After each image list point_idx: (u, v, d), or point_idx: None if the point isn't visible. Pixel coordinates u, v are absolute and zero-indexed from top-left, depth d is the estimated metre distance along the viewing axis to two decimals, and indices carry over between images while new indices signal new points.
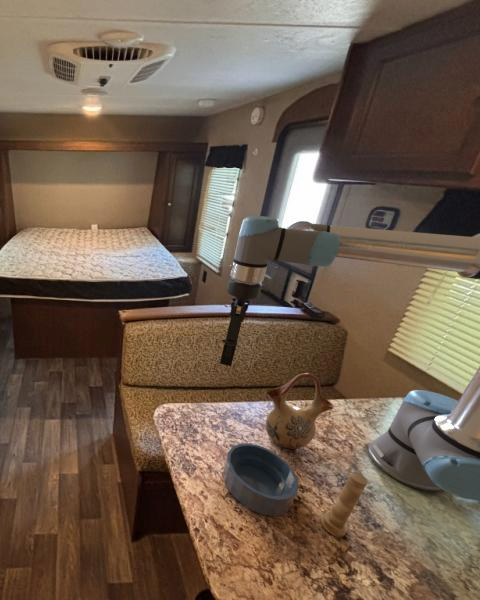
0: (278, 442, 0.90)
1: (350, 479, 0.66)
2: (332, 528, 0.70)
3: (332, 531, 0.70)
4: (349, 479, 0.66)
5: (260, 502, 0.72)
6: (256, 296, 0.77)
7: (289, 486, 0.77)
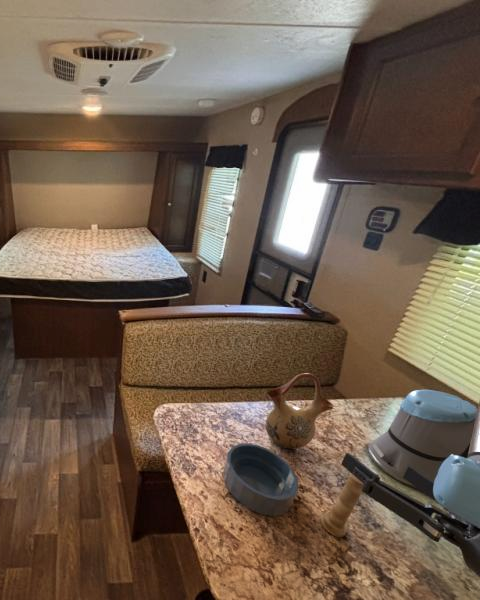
0: (278, 442, 0.90)
1: (350, 479, 0.66)
2: (332, 528, 0.70)
3: (332, 531, 0.70)
4: (349, 479, 0.66)
5: (260, 502, 0.72)
6: None
7: (289, 486, 0.77)
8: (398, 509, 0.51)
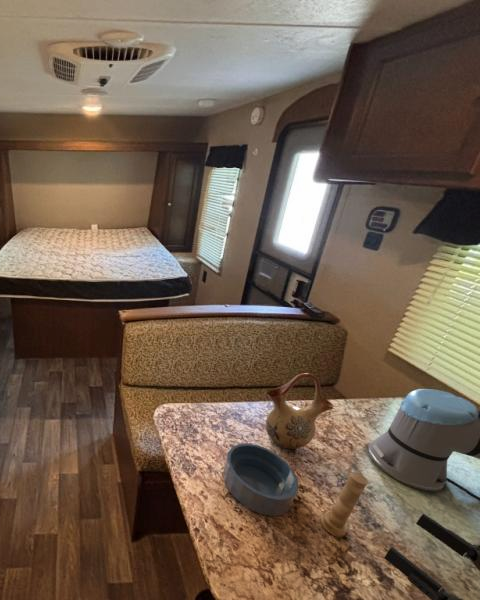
0: (278, 442, 0.90)
1: (350, 479, 0.66)
2: (332, 528, 0.70)
3: (332, 531, 0.70)
4: (349, 479, 0.66)
5: (260, 502, 0.72)
6: None
7: (289, 486, 0.77)
8: None
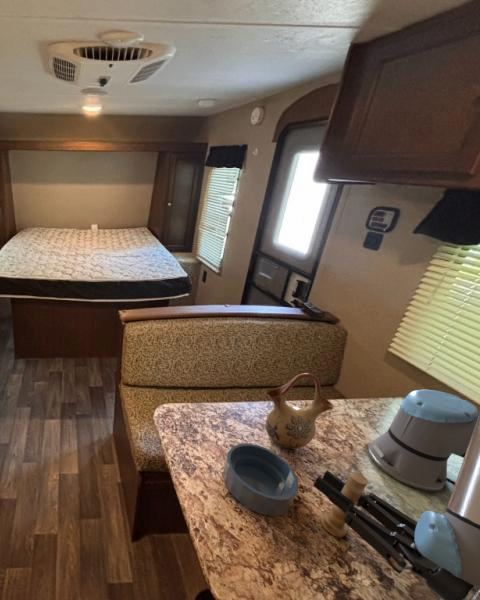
0: (278, 442, 0.90)
1: (350, 479, 0.66)
2: (332, 528, 0.70)
3: (332, 531, 0.70)
4: (349, 479, 0.66)
5: (260, 502, 0.72)
6: None
7: (289, 486, 0.77)
8: (371, 541, 0.61)
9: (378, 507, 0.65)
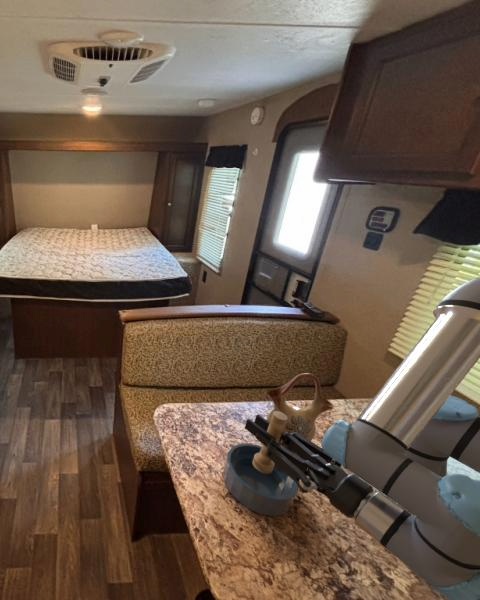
0: (278, 442, 0.90)
1: (272, 417, 0.72)
2: (260, 465, 0.76)
3: (260, 468, 0.76)
4: (272, 417, 0.72)
5: (260, 502, 0.72)
6: (355, 475, 0.61)
7: (289, 486, 0.77)
8: (285, 469, 0.66)
9: (297, 442, 0.71)
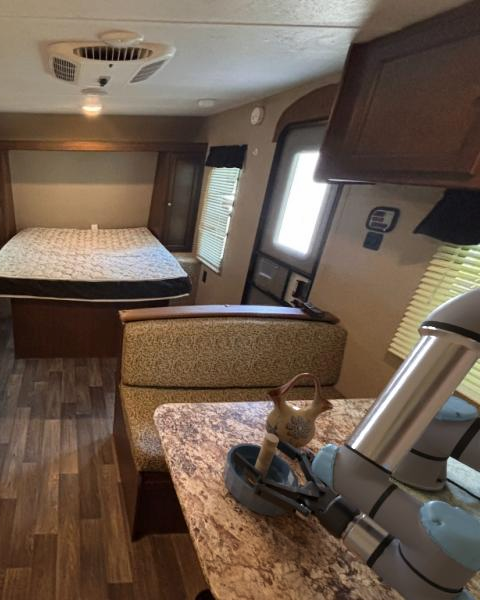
0: None
1: (265, 439, 0.74)
2: (253, 485, 0.78)
3: (253, 487, 0.78)
4: (264, 439, 0.75)
5: (260, 502, 0.72)
6: (344, 497, 0.64)
7: None
8: (279, 503, 0.66)
9: (306, 462, 0.74)
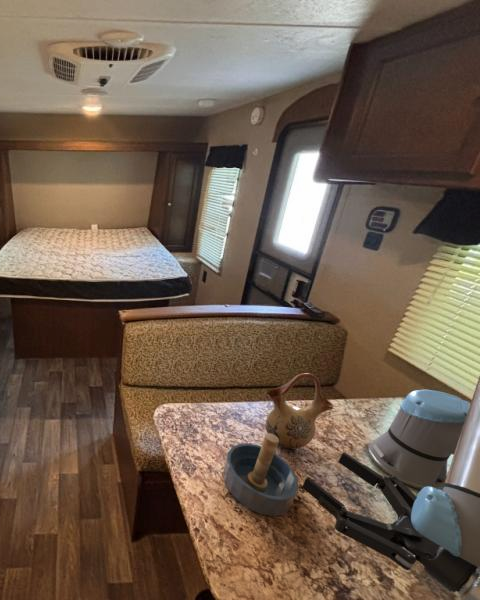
0: (278, 442, 0.90)
1: (265, 439, 0.74)
2: (253, 485, 0.78)
3: (253, 487, 0.78)
4: (264, 439, 0.75)
5: (260, 502, 0.72)
6: None
7: (289, 486, 0.77)
8: (372, 545, 0.54)
9: (393, 489, 0.61)
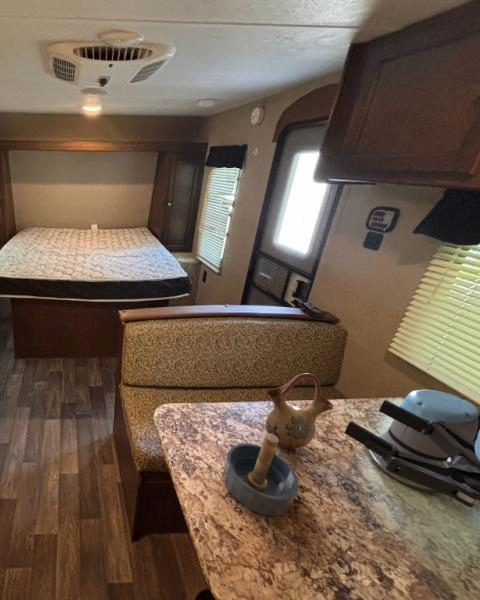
0: (278, 442, 0.90)
1: (265, 439, 0.74)
2: (253, 485, 0.78)
3: (253, 487, 0.78)
4: (264, 439, 0.75)
5: (260, 502, 0.72)
6: None
7: (289, 486, 0.77)
8: (429, 483, 0.50)
9: (444, 432, 0.57)
